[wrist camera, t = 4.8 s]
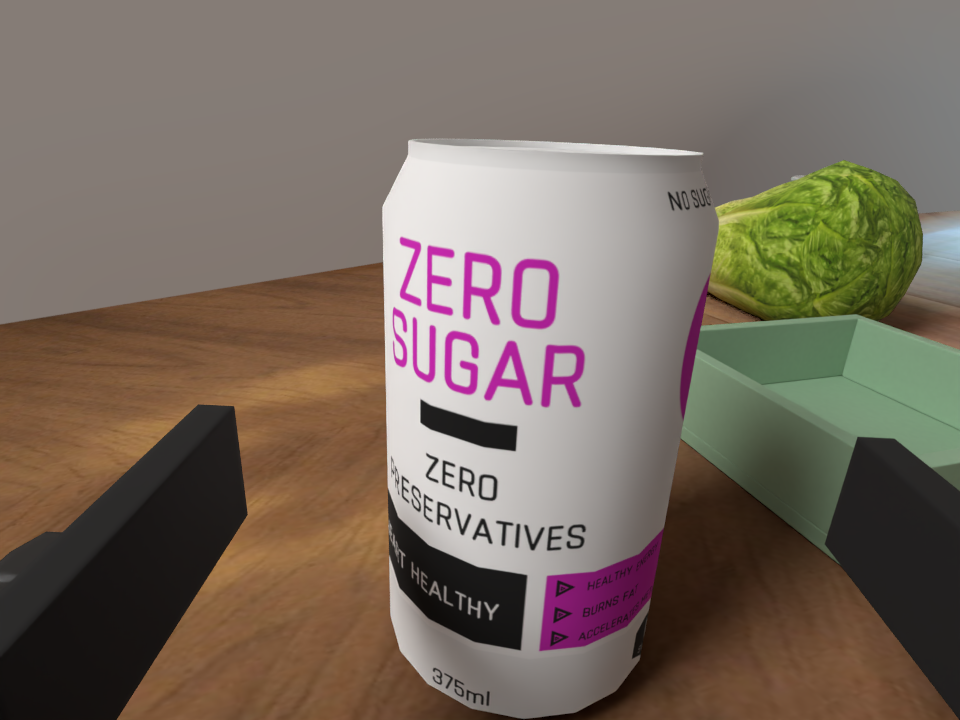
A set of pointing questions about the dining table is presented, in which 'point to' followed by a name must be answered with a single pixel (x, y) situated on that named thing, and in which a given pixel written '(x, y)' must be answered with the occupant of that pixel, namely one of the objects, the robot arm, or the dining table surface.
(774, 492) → the bin
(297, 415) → the dining table surface
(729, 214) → the lettuce
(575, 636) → the white soda can
